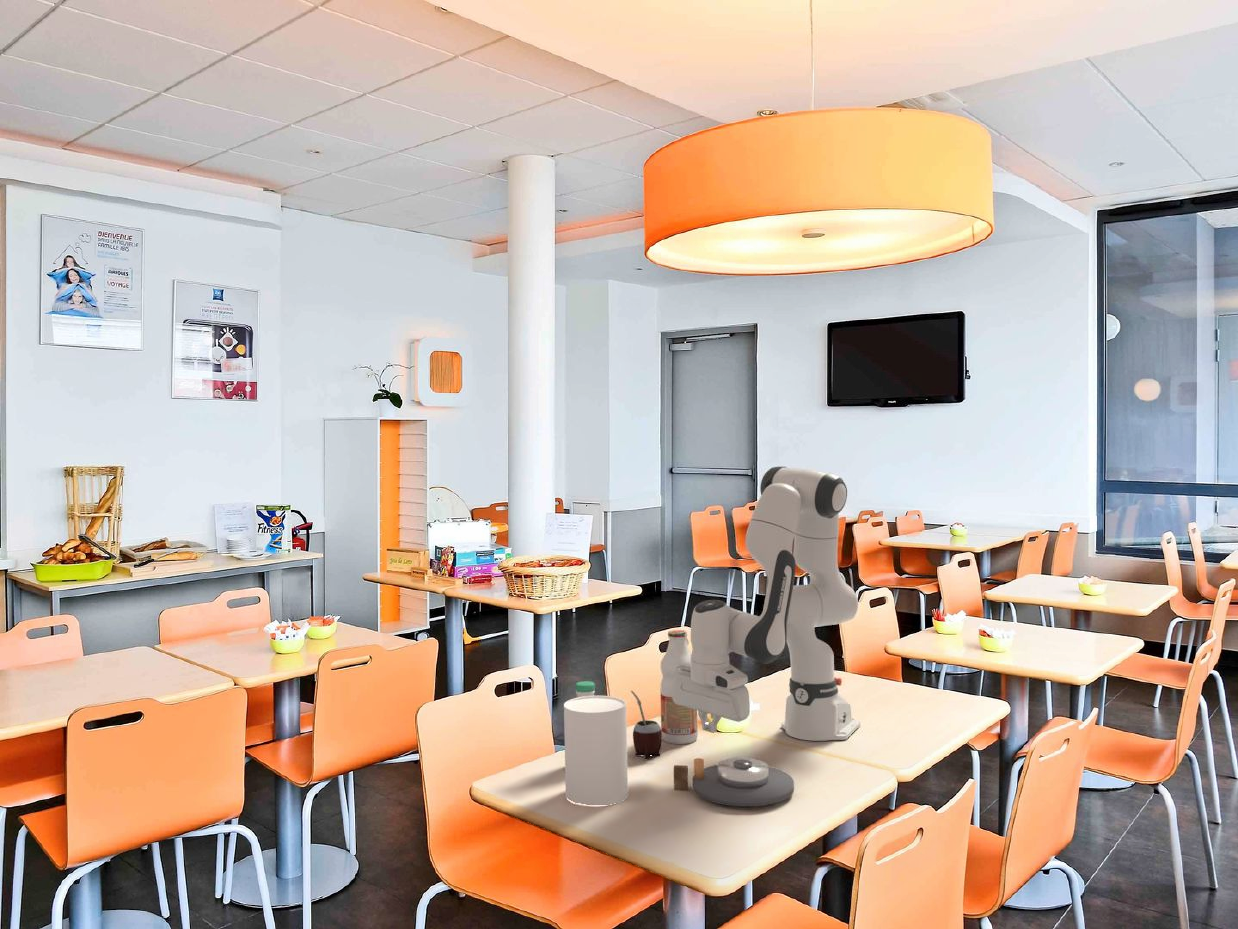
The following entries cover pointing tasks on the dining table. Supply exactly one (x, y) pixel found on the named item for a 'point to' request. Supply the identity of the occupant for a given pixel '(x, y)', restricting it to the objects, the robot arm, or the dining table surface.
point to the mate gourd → (646, 736)
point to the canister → (596, 750)
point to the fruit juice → (674, 717)
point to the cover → (743, 773)
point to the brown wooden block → (680, 778)
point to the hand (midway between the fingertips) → (709, 731)
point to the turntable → (714, 791)
